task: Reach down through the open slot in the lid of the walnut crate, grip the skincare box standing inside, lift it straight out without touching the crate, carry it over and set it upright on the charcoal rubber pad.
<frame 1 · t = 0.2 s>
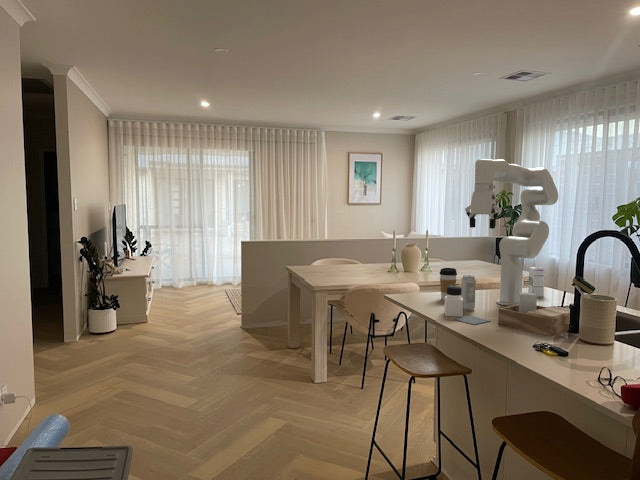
hand: (482, 227, 205), 36 cm above the table, tool pointing down, fingers open, 9 cm apart
charcoal pad: (471, 320, 189), on the table
medicine bottle: (453, 315, 199), on the table
syrup box: (535, 295, 242), on the table
walnut crate: (536, 326, 181), on the table
coffee cup: (447, 299, 231), on the table
energy drink can: (467, 309, 209), on the table
skincare box: (526, 324, 184), resting in walnut crate
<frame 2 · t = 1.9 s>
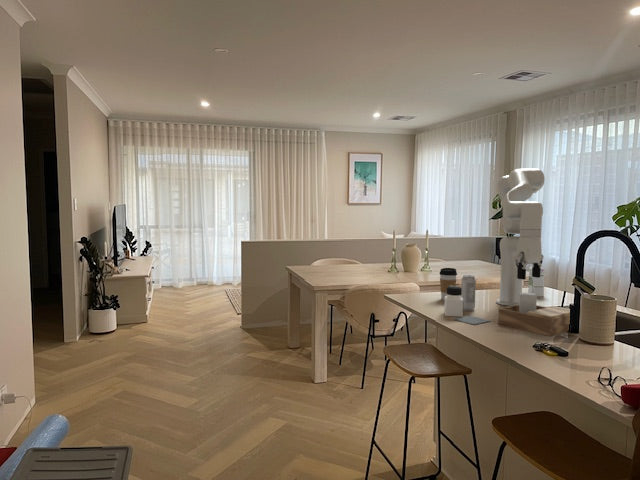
hand: (528, 278, 183), 18 cm above the table, tool pointing down, fingers open, 9 cm apart
nothing on the table moved.
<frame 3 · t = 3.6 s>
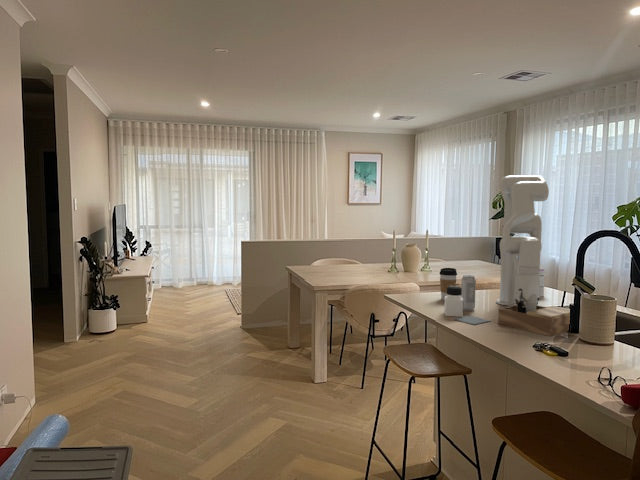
hand: (527, 315, 184), 3 cm above the table, tool pointing down, fingers closed on skincare box, 6 cm apart
skincare box: (526, 324, 184), resting in walnut crate, touching gripper
everything else where it was.
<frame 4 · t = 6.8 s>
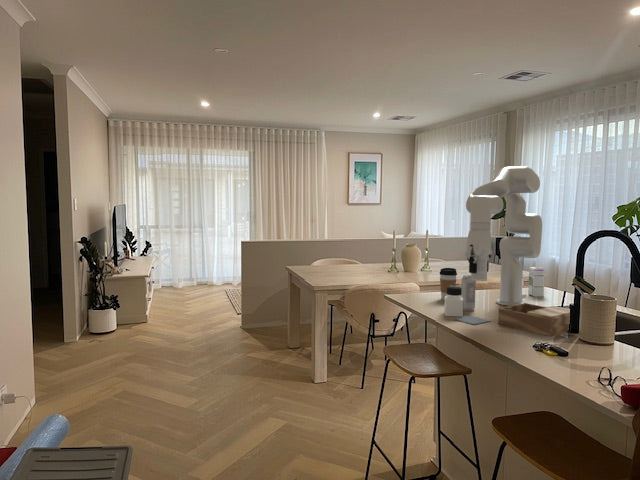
hand: (478, 271, 187), 20 cm above the table, tool pointing down, fingers closed on skincare box, 6 cm apart
skincare box: (478, 280, 187), point 16 cm above the table, touching gripper
everything else where it was.
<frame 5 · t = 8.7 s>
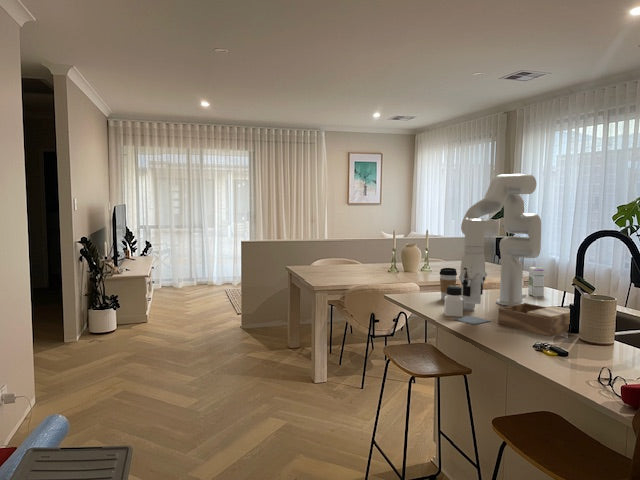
hand: (472, 294, 188), 11 cm above the table, tool pointing down, fingers closed on skincare box, 6 cm apart
skincare box: (472, 303, 188), point 7 cm above the table, touching gripper
everything else where it was.
when the fingers open (5 cm above the table, at t = 10.3 s): skincare box drops 1 cm, resting on charcoal pad.
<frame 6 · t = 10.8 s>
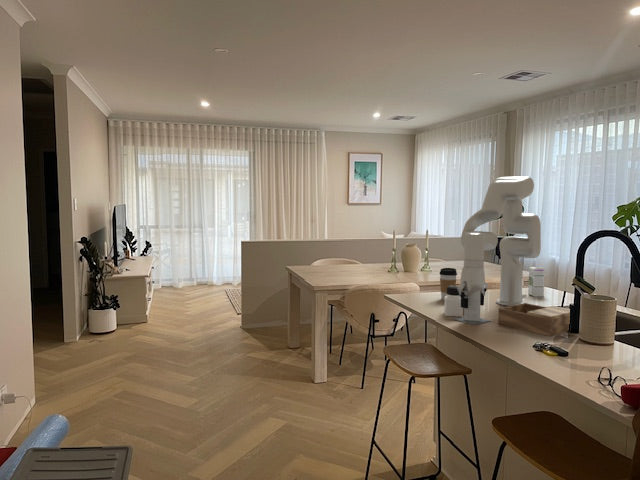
hand: (472, 306, 188), 6 cm above the table, tool pointing down, fingers open, 9 cm apart
skincare box: (471, 320, 189), resting on charcoal pad
everything else where it was.
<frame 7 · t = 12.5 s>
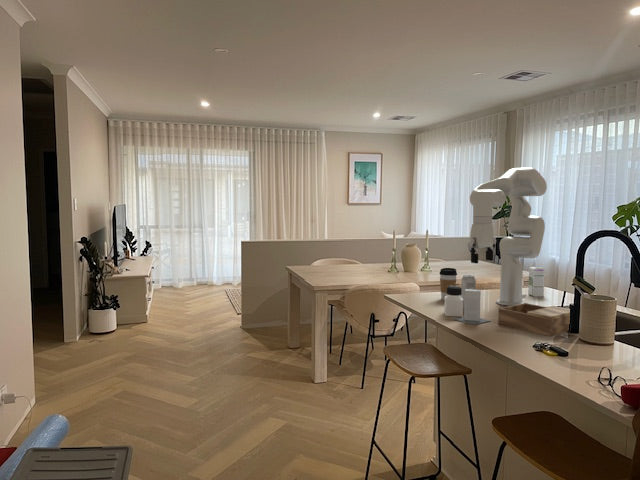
hand: (482, 261, 196), 23 cm above the table, tool pointing down, fingers open, 9 cm apart
nothing on the table moved.
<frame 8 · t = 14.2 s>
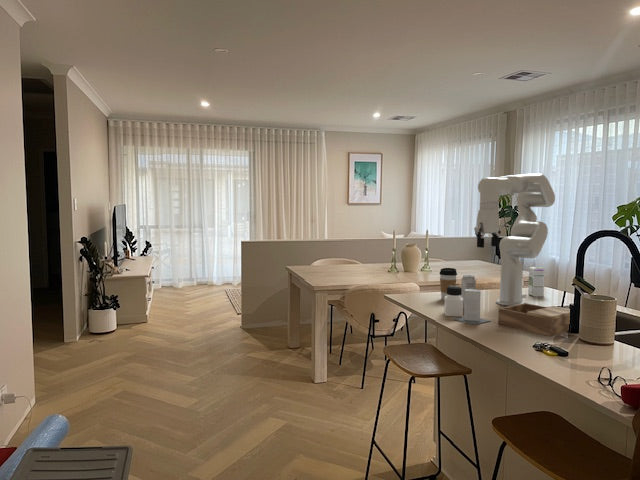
hand: (487, 246, 203), 28 cm above the table, tool pointing down, fingers open, 9 cm apart
nothing on the table moved.
at the end: skincare box inside the target area on the charcoal pad (0.0 cm from its centre), point 0.2 cm above the charcoal pad's base; skincare box tilted 0°; the gripper is holding nothing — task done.
